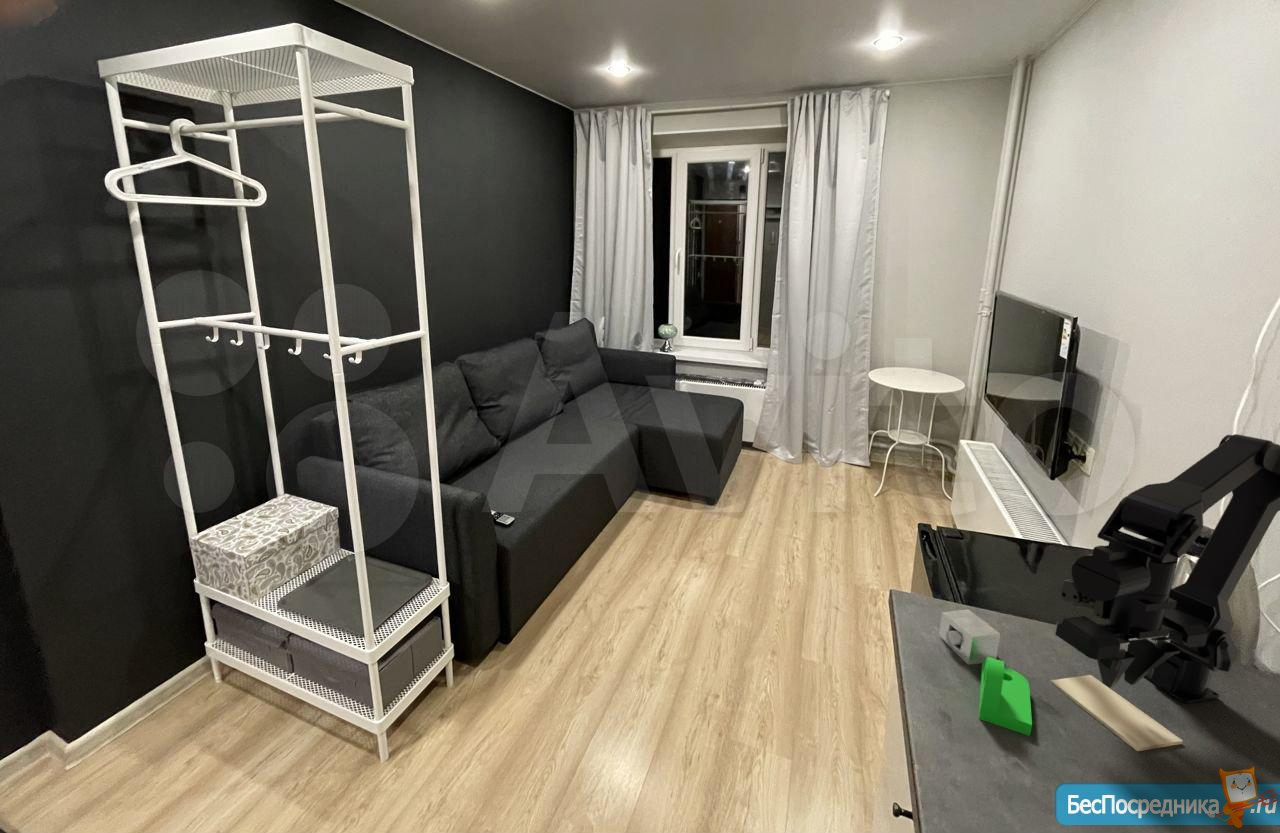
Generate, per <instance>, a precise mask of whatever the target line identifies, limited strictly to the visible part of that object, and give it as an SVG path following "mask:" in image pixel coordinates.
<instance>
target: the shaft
mask: <svg viewBox="0 0 1280 833" xmlns="http://www.w3.org/2000/svg"><path fill="white" fill-rule="evenodd" d="M985 622H986V623H987V624H988V625H990V626H991V627H992V628H994V629H995V626H993V625H992V624H991V623H990V622H987V621H985ZM995 630H996V629H995ZM962 637H963V635H962V634H961V633H960V632H958V631H957V630H953V631H947V632H946V639H947V641H948V643H949V644H950V645H960V644H961V643H962Z"/></svg>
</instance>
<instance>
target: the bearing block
mask: <svg viewBox="0 0 1280 833" xmlns="http://www.w3.org/2000/svg"><path fill="white" fill-rule="evenodd" d="M986 622H987V621H984V620H983V619H982V618H980V617H979V616H978V615H977V614H976V613H974V612H972V611H971V610H970V609H959V610H958V609H957V610H951V611H942V612H941V618H940V624H939V625H940V626H939V632H938V637H939V639H941V640H942V641H943V642H944V643H945V644H947V645H948V647H949V648H950V649H951V650H952V651H953V652H955V654H957V656H959V657H960V658H961V659H962V661H964V662H965V664H967V665H975V664H976V665H977V664H982V663H983V661H986V659H987V657H990V658H993V659H997V656H998V652H999V646H1000V639H1001V633H1000V632H999V631H997V629H994V628H995V627H994V628H992V627H991V626H990V625H988V624H987V623H986ZM953 630H957V631H958V632H960V633H961V634H962V635H963V637H962V643H961V644H960V645H950V644H949V643H948V641H947V639H946V632H947V631H953Z"/></svg>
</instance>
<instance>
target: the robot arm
mask: <svg viewBox="0 0 1280 833" xmlns="http://www.w3.org/2000/svg"><path fill="white" fill-rule="evenodd" d="M1230 493H1232V496H1231V499H1230V501H1229V502H1228V504H1227V506H1226V508H1225V509H1224V511H1223V513H1222V515H1221V516H1220V518H1219V520H1218V522H1217V524H1216V526H1215V528H1214V530H1213V531H1212V533H1211V535H1210V537H1209V539H1208V541H1207V542H1206V544H1205V546H1204V548H1203V549H1202V552H1201V553H1200V555H1199V557H1198V559H1197V560H1196V563H1195V564H1194V567H1193V568H1192V570H1191V571H1190V573H1189V575H1188V577H1187V578H1186V581H1185V582H1184V583H1182V584H1180V585H1177V586H1175V587H1173V588H1172V585H1173V582H1174V581H1173V580H1174V577H1175V574H1176V570H1177V566H1178V561H1179V559H1180V558H1181V557H1182V556H1183V555H1186V554H1187V552H1188V551H1187V550H1188V549H1189V548H1190V546H1192V544H1193V543H1194V542H1195V541H1196V540H1197V538H1198V537H1199V536H1200V535H1201V533H1202V530H1203V529H1204V514H1205V513H1206V512H1207V511H1208V510H1209V509H1210V508H1211V507H1213V506H1214V505H1215V504H1217V503H1218V502H1219V501H1221V500H1222V499H1224V498H1225V497H1227V496H1228V495H1229V494H1230ZM1278 512H1280V444H1277V443H1275V442H1273V441H1272V440H1269V439H1264V438H1260V437H1259V438H1257V437H1254V436H1247V435H1243V434H1237V433H1236V434H1233V435H1232V434H1226V435H1225V436H1224V437H1223V438H1221V441H1220V442H1219V443H1218V445H1217V447H1215V448H1214V449H1213V450H1211V451H1210V452H1208V454H1206V455H1205V456H1203V457H1202V458H1200V459H1199V460H1198V461H1197V462H1195V463H1194V464H1192V465H1191V466H1189V467H1188V468H1187V469H1185V470H1183V471H1182V472H1181V473H1180V474H1179V475H1177V476H1176V477H1174V478H1173V479H1172V480H1169V481H1168V482H1161V483H1151V484H1150V483H1149V484H1146V485H1144V486H1142V487H1140V488H1138V489H1135V490H1134V491H1131V493H1130V492H1129V494H1128V495H1127V496H1125V497H1123V498H1122V499H1121V500H1120V501H1119V503H1118V505H1117V506H1116V507H1115V508H1114V510H1113V511H1112V513H1111V514H1110V516H1109V517H1108V519H1107V520H1106V522H1105V523H1104V524H1103V526H1102V527H1101V529H1100V530H1099V532H1098V534H1097V538H1098V539H1101V540H1102V541H1105V542H1108V545H1097V546H1094V547H1093V550H1092V553H1091V554H1086V555H1083V556H1080V557H1079V558H1078V559H1076V561H1075V562H1074V563H1073V564H1072V566H1071V576H1072V578H1071V579H1064V580H1063V582H1062V585H1061V588H1060V594H1061V599H1062V600H1063V601H1064V602H1066V603H1070V606H1072V607H1081V608H1086V609H1090V610H1093V611H1092V615H1094V616H1095V617H1097V618H1099V619H1103V620H1106V623H1100V624H1099V623H1097V622H1096V621H1093V620H1092V619H1090V618H1088V617H1087V616H1086V615H1083V616H1082V615H1081V616H1074V617H1065V618H1061V619H1058V620H1057V622H1056V627H1055V634H1054V635H1055V636H1056V637H1058V638H1059V639H1061V640H1062V641H1063V642H1066V643H1067V644H1069V646H1072V647H1073V648H1074V649H1076V650H1077V651H1079V652H1080V653H1081V654H1083V655H1084V656H1085V657H1087V658H1089V659H1092V660H1095V661H1096V662H1097V666H1098V669H1099V674H1100V677H1101V683H1103V684H1104V685H1106V686H1107V687H1108V688H1110V689H1112V688H1113V687H1114V686H1115V685H1116V684H1117V683H1118V681H1120V679H1121V677H1122V676H1123V675H1124V681H1125V682H1126V683H1127V684H1129V685H1130V686H1134V685H1136V684H1137V683H1138V682H1139V681H1141V680H1142V679H1143V678H1145V679H1147V680H1148V681H1149V682H1151V683H1153V684H1154V685H1156V686H1157V687H1159V688H1160V689H1162V690H1164V691H1165V692H1167V693H1168V694H1169V695H1171V696H1172V697H1174V698H1176V699H1177V700H1179V701H1180V702H1182V703H1184V704H1189V703H1190V704H1191V703H1198V702H1203V701H1208V700H1209V701H1211V700H1217V699H1220V693H1218V692H1216V691H1215V690H1213V689H1211V688H1209V686H1210V685H1209V684H1210V682H1211V679H1212V674H1213V672H1217V671H1222V672H1223V671H1224V672H1227V673H1228V672H1231V671H1232V668H1233V664H1234V663H1235V662H1236V661H1237V657H1238V654H1239V650H1238V648H1237V646H1236V644H1235V642H1234V641H1233V639H1232V637H1231V635H1230V633H1231V631H1232V629H1233V627H1234V621H1233V617H1232V613H1231V608H1230V605H1229V600H1230V599H1231V596H1232V594H1233V593H1234V591H1235V589H1236V587H1237V586H1238V583H1239V582H1240V580H1241V579H1242V578H1241V577H1243V574H1244V572H1245V570H1246V569H1247V567H1248V565H1249V564H1250V561H1251V560H1252V558H1253V556H1254V554H1255V553H1256V552H1257V549H1258V547H1259V546H1260V544H1261V542H1262V540H1263V538H1264V537H1265V534H1266V533H1267V531H1268V529H1269V528H1270V525H1271V524H1272V522H1273V520H1274V518H1275V517H1276V515H1277V514H1278ZM1122 528H1123V530H1125V531H1128V532H1130V533H1133V534H1136V535H1138V536H1142V537H1143V538H1140V537H1137V536H1134V535H1132V534H1129V533H1126V532H1123V531H1121V529H1122ZM1144 537H1145V538H1144Z"/></svg>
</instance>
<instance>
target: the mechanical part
mask: <svg viewBox="0 0 1280 833" xmlns="http://www.w3.org/2000/svg"><path fill="white" fill-rule="evenodd" d="M979 691H980V692H979V707H978V710H979V711H978V719H979V720H982V721H985V722H988V723H991V724H994V725H997V726H1000V727H1003V728H1006V729H1008V730H1011V731H1014V732H1017V733H1020V734H1023V735H1025V736H1028V737H1030V736H1031V732H1032V727H1033V720H1032V719H1033V718H1032V707H1031V704H1032V703H1031V690H1030V684H1029V681H1028V680H1027V679H1026V677H1025V676H1023V675H1022V674H1021V673H1019V672H1017V671H1016V670H1014V669H1012V668H1009V667H1006V666H1005V661H1003V660H1000V659H997V658H996V659H993V658H990V657H987V659H986V661H983V663H981V673H980V690H979Z"/></svg>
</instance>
